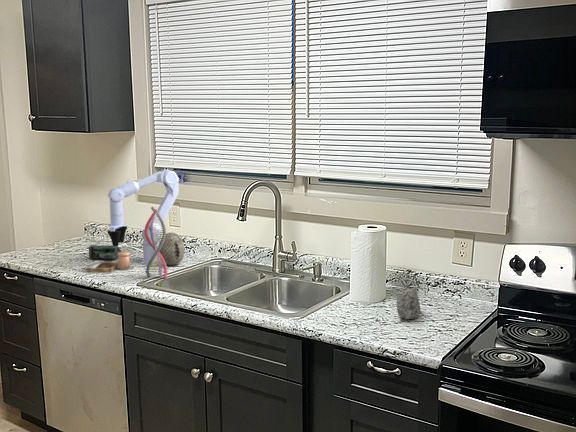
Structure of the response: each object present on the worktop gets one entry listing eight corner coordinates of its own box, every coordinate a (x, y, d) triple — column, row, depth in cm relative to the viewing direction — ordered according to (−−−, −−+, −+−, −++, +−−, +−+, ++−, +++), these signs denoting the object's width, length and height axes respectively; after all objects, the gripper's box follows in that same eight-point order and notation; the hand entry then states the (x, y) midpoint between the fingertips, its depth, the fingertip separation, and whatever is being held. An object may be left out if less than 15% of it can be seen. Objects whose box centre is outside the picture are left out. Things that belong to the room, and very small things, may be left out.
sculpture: (122, 247, 307) (90, 253, 305) (118, 236, 302) (86, 242, 300) (122, 264, 298) (90, 270, 296) (118, 252, 293) (86, 259, 291)
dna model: (162, 281, 261) (160, 209, 256) (142, 280, 263) (139, 209, 258) (170, 275, 270) (168, 206, 265) (151, 274, 272) (148, 206, 267)
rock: (410, 305, 227) (408, 281, 224) (431, 309, 222) (429, 284, 219) (390, 324, 215) (387, 298, 213) (411, 328, 210) (409, 301, 208)
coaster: (135, 267, 284) (135, 266, 284) (131, 271, 278) (131, 270, 278) (121, 267, 285) (121, 266, 285) (116, 271, 278) (116, 269, 278)
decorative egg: (167, 269, 281) (165, 236, 278) (154, 264, 290) (153, 232, 287) (189, 265, 288) (188, 233, 286) (177, 260, 297) (175, 229, 295)
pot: (132, 266, 283) (131, 251, 282) (128, 269, 278) (128, 254, 277) (120, 266, 284) (119, 251, 283) (116, 269, 278) (115, 254, 277)
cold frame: (120, 266, 287) (120, 260, 286) (111, 273, 274) (110, 267, 274) (96, 265, 287) (96, 260, 287) (86, 273, 275) (86, 267, 274)
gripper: (113, 212, 292) (114, 240, 294) (102, 217, 278) (104, 247, 280) (128, 212, 291) (129, 240, 294) (118, 217, 277) (119, 247, 279)
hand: (118, 244), depth 287 cm, fingers open, 7 cm apart
